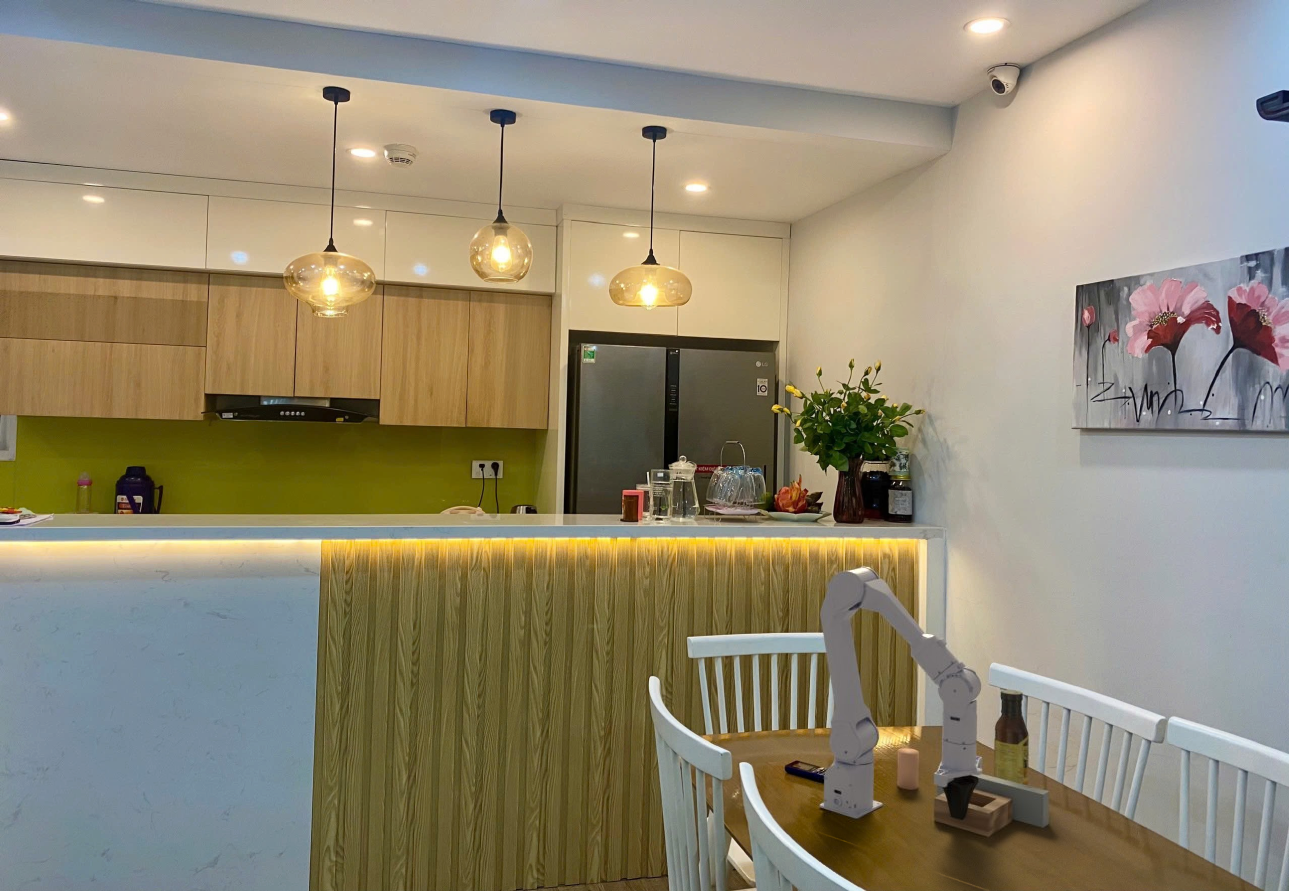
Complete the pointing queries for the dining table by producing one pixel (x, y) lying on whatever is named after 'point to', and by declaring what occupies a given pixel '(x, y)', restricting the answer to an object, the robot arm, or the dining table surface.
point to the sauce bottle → (1011, 740)
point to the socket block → (977, 813)
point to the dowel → (908, 768)
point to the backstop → (1017, 798)
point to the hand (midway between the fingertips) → (957, 817)
